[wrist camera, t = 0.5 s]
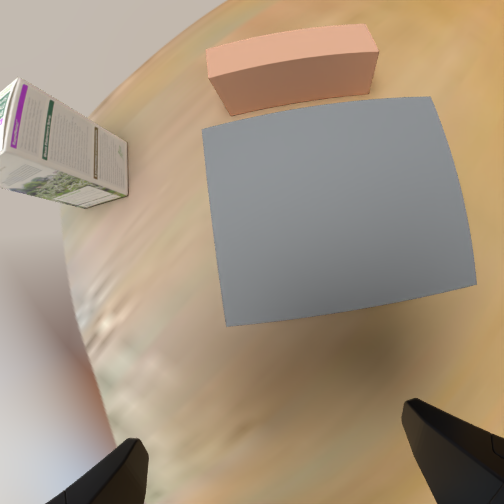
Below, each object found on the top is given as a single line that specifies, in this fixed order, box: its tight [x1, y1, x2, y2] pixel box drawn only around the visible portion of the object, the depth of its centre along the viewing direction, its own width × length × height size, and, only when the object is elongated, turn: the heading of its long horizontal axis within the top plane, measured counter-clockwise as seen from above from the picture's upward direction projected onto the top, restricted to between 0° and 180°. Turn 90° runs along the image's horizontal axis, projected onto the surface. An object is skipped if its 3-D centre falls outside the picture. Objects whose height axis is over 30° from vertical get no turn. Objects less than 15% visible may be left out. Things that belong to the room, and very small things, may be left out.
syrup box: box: [0, 77, 128, 209], centre depth 19 cm, size 6×6×14 cm
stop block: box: [206, 24, 379, 116], centre depth 20 cm, size 3×12×6 cm, turn 99°
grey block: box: [202, 97, 477, 327], centre depth 15 cm, size 8×10×9 cm
